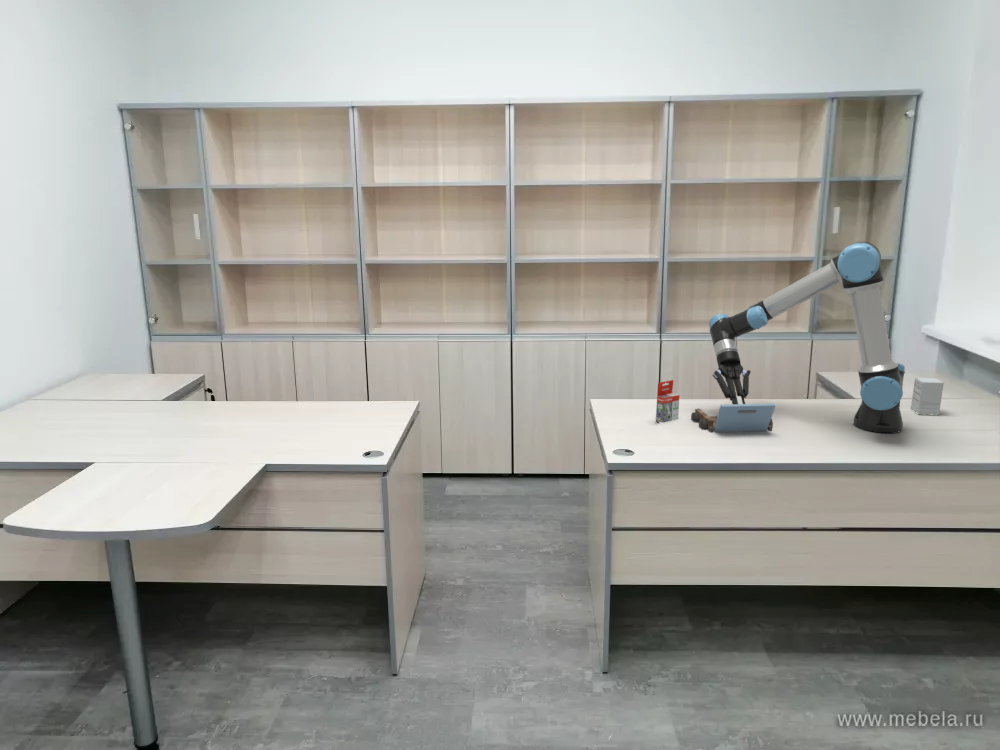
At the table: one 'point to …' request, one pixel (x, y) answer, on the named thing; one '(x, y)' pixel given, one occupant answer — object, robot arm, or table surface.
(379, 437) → the table surface
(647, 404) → the table surface
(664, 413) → the ink box
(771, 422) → the trailer bed
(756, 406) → the panel
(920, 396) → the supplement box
